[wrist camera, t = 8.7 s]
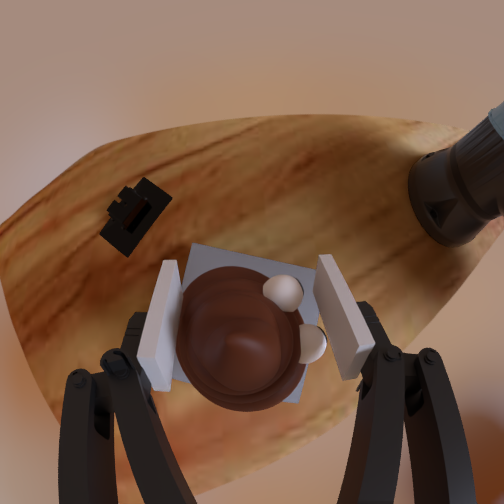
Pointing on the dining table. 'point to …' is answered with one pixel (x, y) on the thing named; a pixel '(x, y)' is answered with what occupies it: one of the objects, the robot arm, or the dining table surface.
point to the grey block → (212, 258)
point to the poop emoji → (245, 337)
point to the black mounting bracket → (134, 215)
